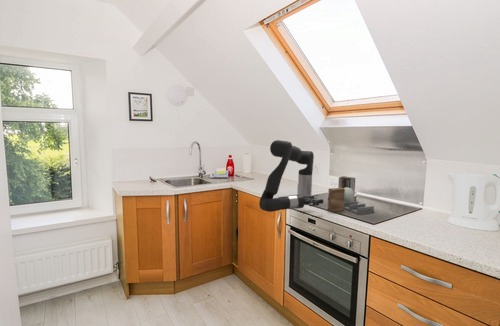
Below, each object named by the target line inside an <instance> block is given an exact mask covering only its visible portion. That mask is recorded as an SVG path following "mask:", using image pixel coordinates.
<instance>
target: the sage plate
mask: <svg viewBox="0 0 500 326" xmlns="http://www.w3.org/2000/svg"><path fill="white" fill-rule="evenodd" d="M344 189H345V194H344V202H352V201H353V199H354V200H355V195H354V192H353V190H352V189H351V188H348V187H346V188H344Z"/></svg>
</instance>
